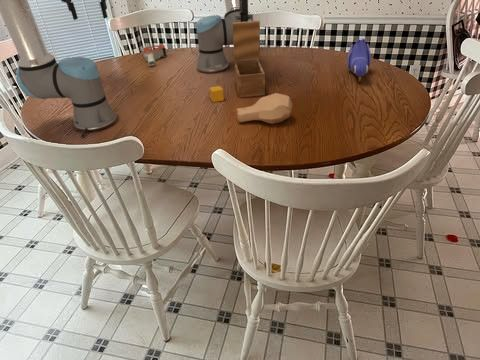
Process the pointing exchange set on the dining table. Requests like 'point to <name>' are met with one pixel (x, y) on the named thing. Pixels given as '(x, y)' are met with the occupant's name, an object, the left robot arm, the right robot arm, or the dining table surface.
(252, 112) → the squash
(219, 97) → the block
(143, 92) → the dining table surface
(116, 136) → the dining table surface
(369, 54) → the toy
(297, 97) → the dining table surface
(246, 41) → the lid
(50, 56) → the left robot arm
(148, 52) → the tape dispenser
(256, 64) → the wooden box
